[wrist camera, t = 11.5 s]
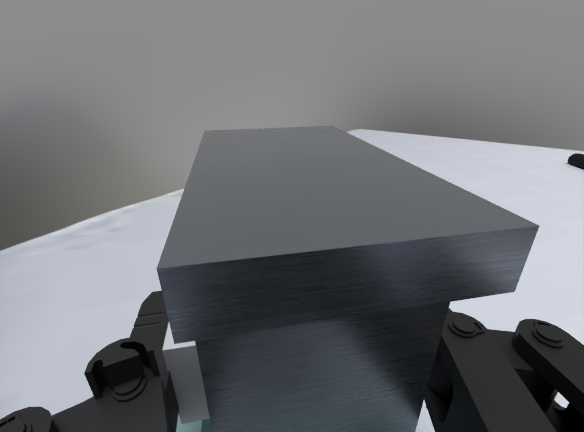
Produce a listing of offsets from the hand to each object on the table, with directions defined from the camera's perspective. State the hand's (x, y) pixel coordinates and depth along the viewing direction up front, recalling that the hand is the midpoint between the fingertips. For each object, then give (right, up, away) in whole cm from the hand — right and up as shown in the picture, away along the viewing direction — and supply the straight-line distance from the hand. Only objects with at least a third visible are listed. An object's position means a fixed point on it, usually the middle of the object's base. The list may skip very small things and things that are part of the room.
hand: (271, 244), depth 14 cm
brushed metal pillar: (+1, -10, -1) cm, 10 cm away
